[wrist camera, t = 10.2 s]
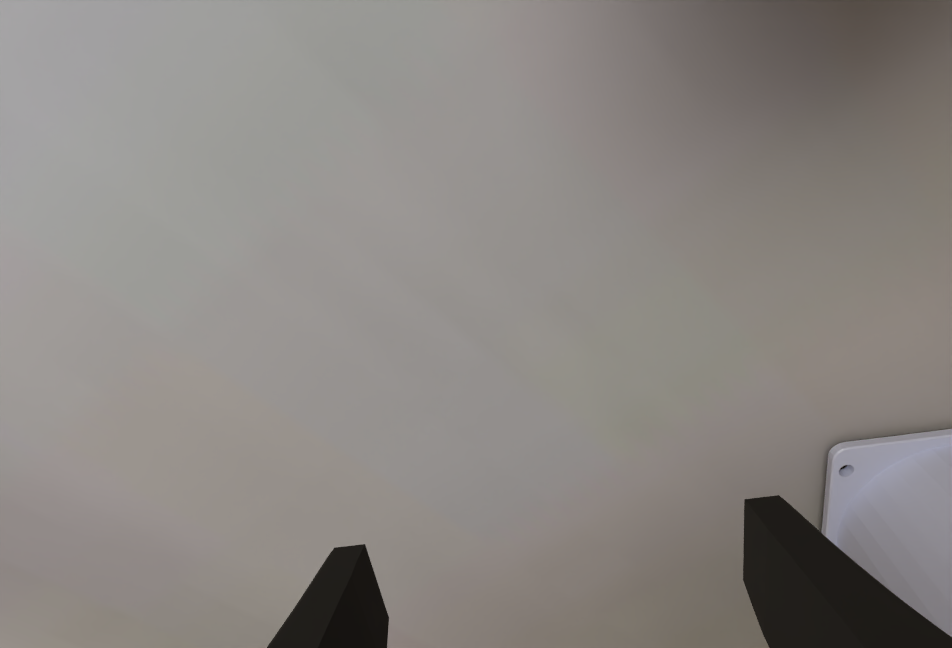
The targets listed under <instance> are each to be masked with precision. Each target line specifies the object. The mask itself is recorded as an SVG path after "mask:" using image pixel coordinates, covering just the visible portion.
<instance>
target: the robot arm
mask: <svg viewBox="0 0 952 648" xmlns="http://www.w3.org/2000/svg"><path fill="white" fill-rule="evenodd" d="M845 465H847V467H845V468H844V469H841V470H840V468H841V467H843V466H845ZM743 580H744V583H745V586H746V589H747V592H748V594H749V597H750V600H751V603H752V606H753V609H754V611H755V614H756V617H757V619H758V622H759V625H760V627H761V630H762V632H763V635H764V637H765V639H766V641H767V643H768V645H769V648H952V429H946V430H938V431H930V432H922V433H914V434H906V435H898V436H889V437H881V438H873V439H865V440H857V441H849V442H843V443H839V444H837V445H835V446H834V447H832V449H831V450H830V451H829V454H828V463H827V475H826V486H825V498H824V510H823V521H822V533H821V532H820V531H819V530H818V529H816V528H815V527H814V526H813V525H812V524H811V523H810V522H809V521H807V520H806V519H805V518H804V517H803V516H802V515H801V514H800V513H799V512H797V511H796V510H795V509H794V508H793V507H792V506H791V505H790V504H789V503H787V502H786V501H785V500H784V499H783V498H781V497H780V496H779V495H778V496H770V497H761V498H753V499H745V506H744V566H743ZM388 622H389V617H388V614H387V611H386V608H385V605H384V602H383V599H382V596H381V592H380V589H379V586H378V583H377V580H376V577H375V574H374V571H373V568H372V565H371V562H370V559H369V556H368V552H367V549H366V546H365V544H363V545H355V546H346V547H338V548H334V549H333V551H332V552H331V553H330V555H329V556H328V558H327V559H326V561H325V562H324V564H323V565H322V567H321V568H320V570H319V571H318V573H317V574H316V576H315V578H314V579H313V581H312V582H311V584H310V585H309V587H308V588H307V590H306V591H305V593H304V594H303V596H302V597H301V599H300V600H299V602H298V603H297V605H296V606H295V608H294V609H293V611H292V612H291V614H290V615H289V617H288V618H287V620H286V621H285V622H284V624H283V625H282V627H281V628H280V630H279V631H278V632H277V634H276V635H275V637H274V638H273V640H272V641H271V642H270V644H269V645H268V647H267V648H387V638H388Z"/></svg>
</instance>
